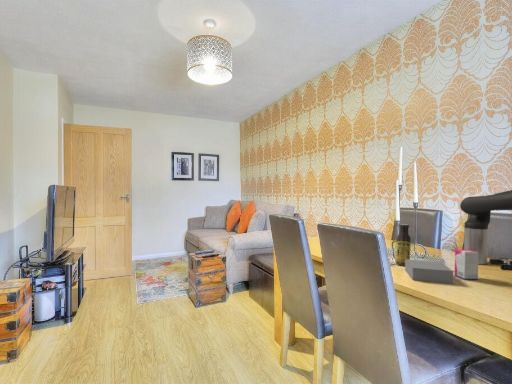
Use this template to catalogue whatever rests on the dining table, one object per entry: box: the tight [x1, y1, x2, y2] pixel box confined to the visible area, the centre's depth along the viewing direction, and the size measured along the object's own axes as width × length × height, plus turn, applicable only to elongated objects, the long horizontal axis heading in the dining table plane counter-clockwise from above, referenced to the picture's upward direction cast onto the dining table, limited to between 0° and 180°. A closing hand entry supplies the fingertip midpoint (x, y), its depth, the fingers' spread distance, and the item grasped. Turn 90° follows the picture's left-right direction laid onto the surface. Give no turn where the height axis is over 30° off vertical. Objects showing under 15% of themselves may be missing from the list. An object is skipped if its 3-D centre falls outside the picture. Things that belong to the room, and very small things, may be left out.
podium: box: [404, 259, 454, 285], centre depth 115 cm, size 14×14×5 cm
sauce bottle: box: [394, 223, 412, 267], centre depth 133 cm, size 7×6×20 cm
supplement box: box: [454, 248, 479, 281], centre depth 114 cm, size 6×6×12 cm
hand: (495, 264), depth 111 cm, fingers open, 8 cm apart
